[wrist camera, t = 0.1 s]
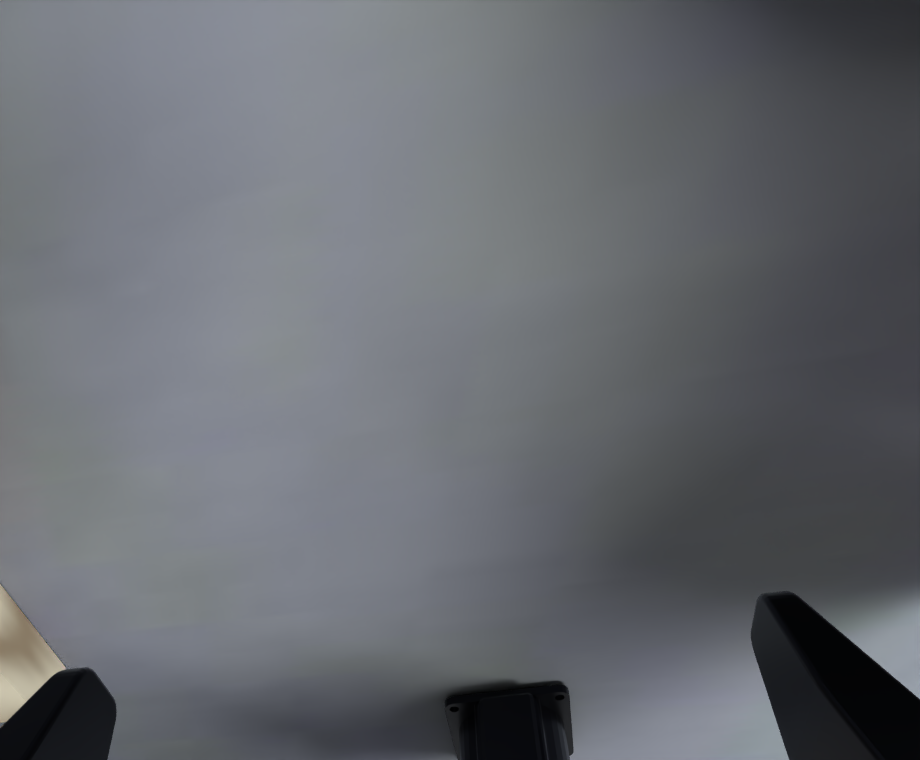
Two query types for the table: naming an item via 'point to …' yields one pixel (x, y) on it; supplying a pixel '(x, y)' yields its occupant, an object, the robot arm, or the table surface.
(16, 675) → the block
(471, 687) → the table surface
